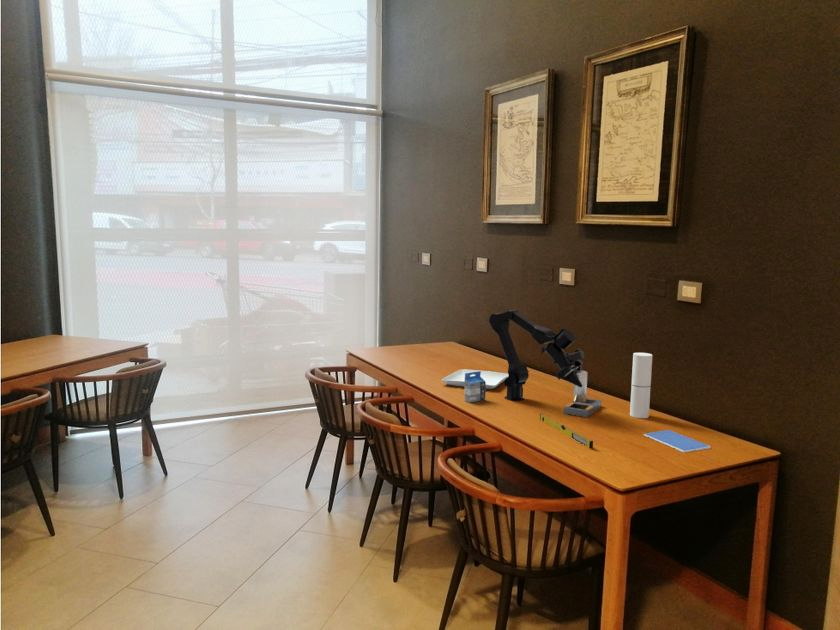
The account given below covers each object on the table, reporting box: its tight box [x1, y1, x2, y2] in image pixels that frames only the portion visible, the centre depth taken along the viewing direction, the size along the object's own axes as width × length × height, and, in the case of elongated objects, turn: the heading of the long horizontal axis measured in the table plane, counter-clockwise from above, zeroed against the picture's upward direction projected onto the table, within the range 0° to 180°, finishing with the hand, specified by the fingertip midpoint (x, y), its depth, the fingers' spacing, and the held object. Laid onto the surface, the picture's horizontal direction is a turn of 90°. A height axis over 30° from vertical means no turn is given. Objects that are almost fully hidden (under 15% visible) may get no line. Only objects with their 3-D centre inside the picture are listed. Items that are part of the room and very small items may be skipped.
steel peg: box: [572, 370, 589, 403], centre depth 251 cm, size 5×5×12 cm
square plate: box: [441, 368, 509, 390], centre depth 301 cm, size 27×27×4 cm
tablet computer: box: [643, 429, 712, 453], centre depth 218 cm, size 19×13×1 cm, turn 23°
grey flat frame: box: [563, 397, 602, 418], centre depth 256 cm, size 20×10×3 cm, turn 148°
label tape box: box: [464, 370, 486, 404], centre depth 268 cm, size 9×4×12 cm, turn 123°
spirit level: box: [539, 413, 594, 449], centre depth 225 cm, size 33×1×3 cm, turn 19°
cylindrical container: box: [629, 352, 653, 419], centre depth 247 cm, size 7×7×25 cm
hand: (583, 385), depth 250 cm, fingers closed on steel peg, 5 cm apart
